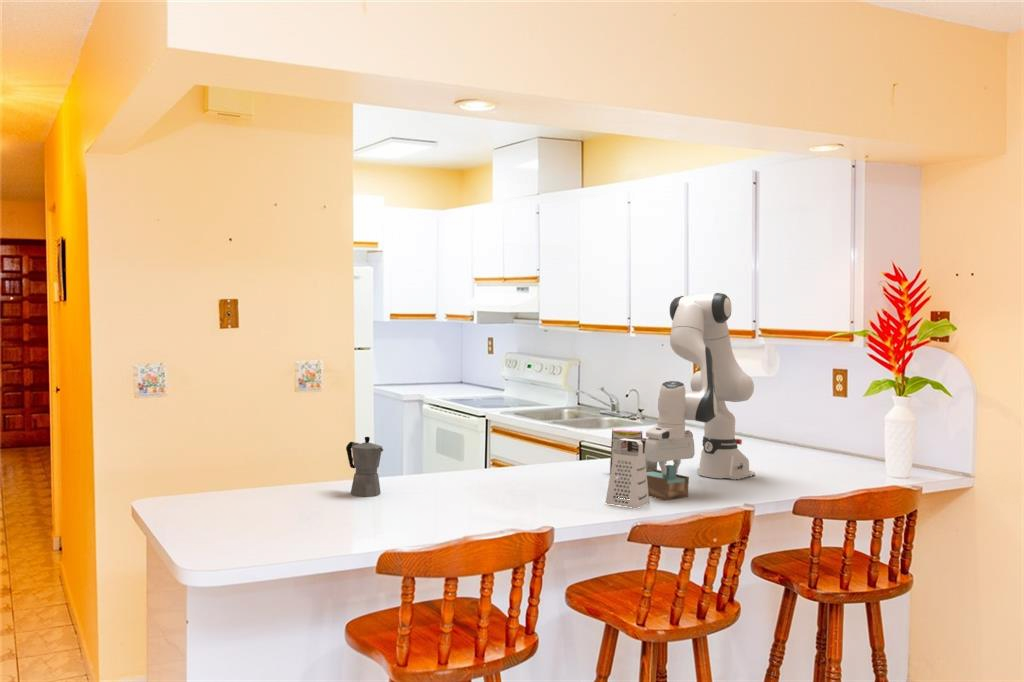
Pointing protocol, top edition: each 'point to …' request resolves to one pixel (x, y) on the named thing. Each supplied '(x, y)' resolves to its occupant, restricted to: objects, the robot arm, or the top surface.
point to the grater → (628, 477)
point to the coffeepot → (365, 468)
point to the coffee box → (634, 447)
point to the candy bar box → (622, 434)
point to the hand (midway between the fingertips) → (669, 473)
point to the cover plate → (669, 481)
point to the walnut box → (666, 487)
